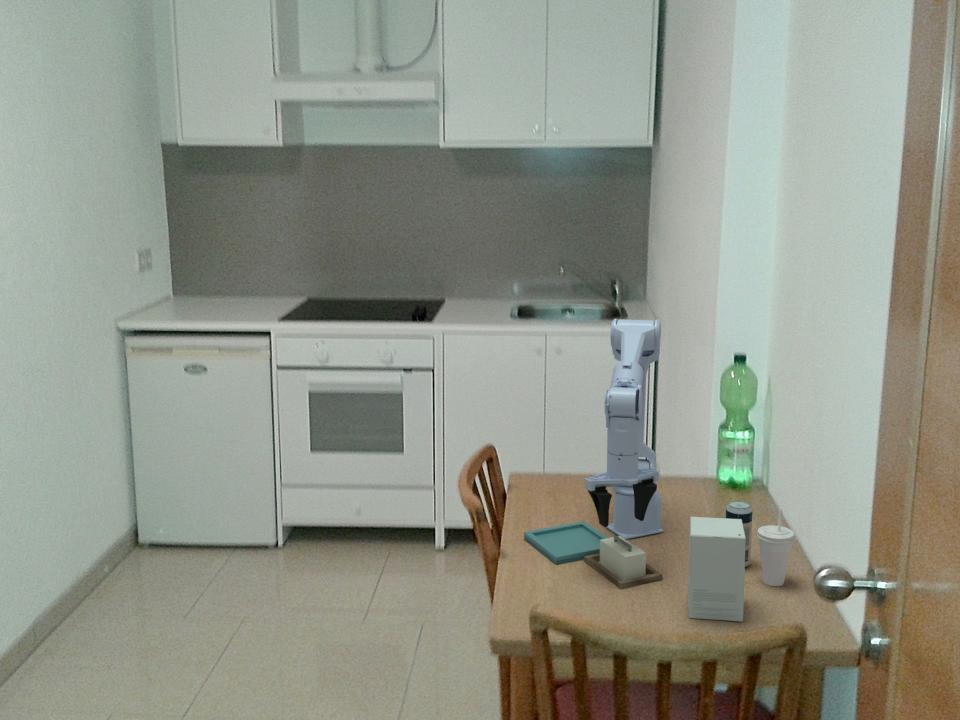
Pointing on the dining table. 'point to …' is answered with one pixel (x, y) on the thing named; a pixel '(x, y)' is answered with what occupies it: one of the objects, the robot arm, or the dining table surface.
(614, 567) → the white block with handle
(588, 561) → the brown flat rectangular frame
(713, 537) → the supplement box
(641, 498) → the robot arm
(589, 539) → the tray
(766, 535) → the smoothie
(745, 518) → the beer can
